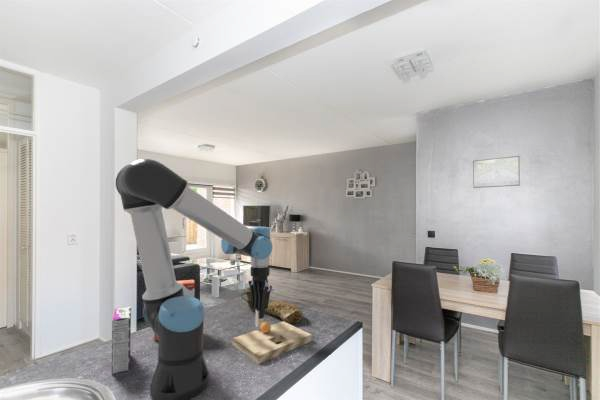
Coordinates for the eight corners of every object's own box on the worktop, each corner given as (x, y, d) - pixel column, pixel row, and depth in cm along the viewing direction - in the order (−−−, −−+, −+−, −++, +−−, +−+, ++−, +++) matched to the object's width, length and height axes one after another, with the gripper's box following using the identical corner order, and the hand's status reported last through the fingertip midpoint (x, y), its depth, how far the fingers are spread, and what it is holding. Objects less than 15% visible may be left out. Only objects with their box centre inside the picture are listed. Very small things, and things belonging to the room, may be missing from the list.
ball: (264, 335, 107) (264, 324, 107) (258, 332, 110) (258, 321, 110) (272, 332, 110) (273, 322, 110) (266, 329, 113) (266, 319, 113)
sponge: (305, 324, 128) (287, 302, 145) (304, 309, 126) (286, 288, 143) (278, 335, 122) (263, 310, 140) (276, 319, 120) (261, 296, 138)
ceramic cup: (259, 304, 150) (259, 285, 150) (269, 309, 142) (269, 289, 142) (236, 309, 142) (236, 289, 142) (246, 315, 134) (246, 294, 134)
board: (258, 363, 92) (258, 356, 92) (232, 345, 105) (232, 338, 105) (311, 341, 109) (311, 334, 109) (283, 327, 121) (283, 321, 121)
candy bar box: (113, 358, 95) (114, 308, 96) (130, 354, 98) (131, 306, 98) (110, 375, 85) (111, 319, 86) (129, 370, 88) (131, 316, 88)
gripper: (277, 267, 112) (276, 328, 111) (258, 262, 121) (257, 318, 120) (262, 269, 107) (261, 333, 106) (243, 264, 116) (242, 323, 115)
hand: (259, 325), depth 113 cm, fingers closed
